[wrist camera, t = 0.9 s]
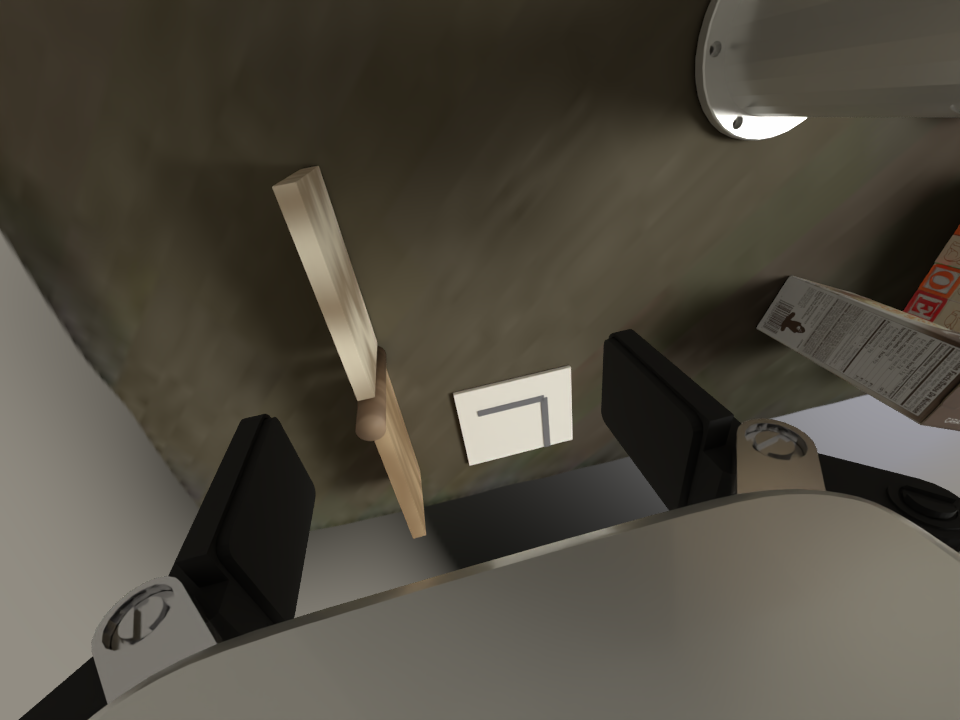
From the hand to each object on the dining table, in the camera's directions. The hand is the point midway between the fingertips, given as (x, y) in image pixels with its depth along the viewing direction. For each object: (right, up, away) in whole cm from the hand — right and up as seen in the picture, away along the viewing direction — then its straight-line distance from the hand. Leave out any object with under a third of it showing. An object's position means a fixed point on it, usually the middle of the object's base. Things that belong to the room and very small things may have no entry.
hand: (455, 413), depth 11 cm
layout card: (+5, -4, +31) cm, 32 cm away
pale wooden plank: (-10, +9, +19) cm, 23 cm away
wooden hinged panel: (-8, -4, +28) cm, 29 cm away
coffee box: (+35, +7, +31) cm, 47 cm away
